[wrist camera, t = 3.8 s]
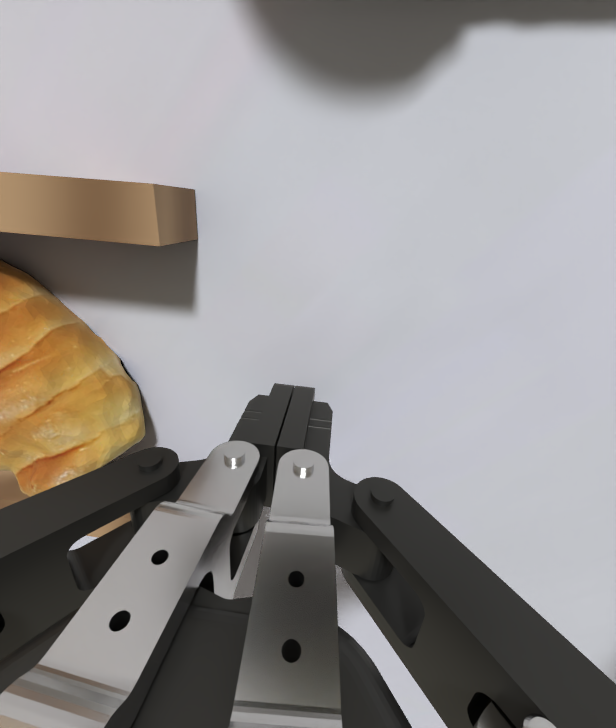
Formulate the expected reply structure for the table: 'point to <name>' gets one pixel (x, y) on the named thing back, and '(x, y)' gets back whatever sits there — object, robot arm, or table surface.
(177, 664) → the robot arm
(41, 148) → the table surface
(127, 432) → the pastry
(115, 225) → the pair of wooden bars
